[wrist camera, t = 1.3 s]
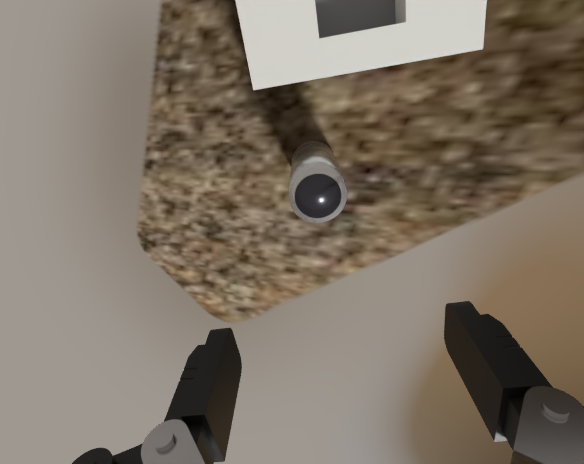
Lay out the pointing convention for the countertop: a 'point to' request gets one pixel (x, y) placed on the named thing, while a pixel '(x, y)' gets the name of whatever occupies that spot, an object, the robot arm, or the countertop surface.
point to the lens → (316, 183)
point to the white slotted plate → (352, 35)
